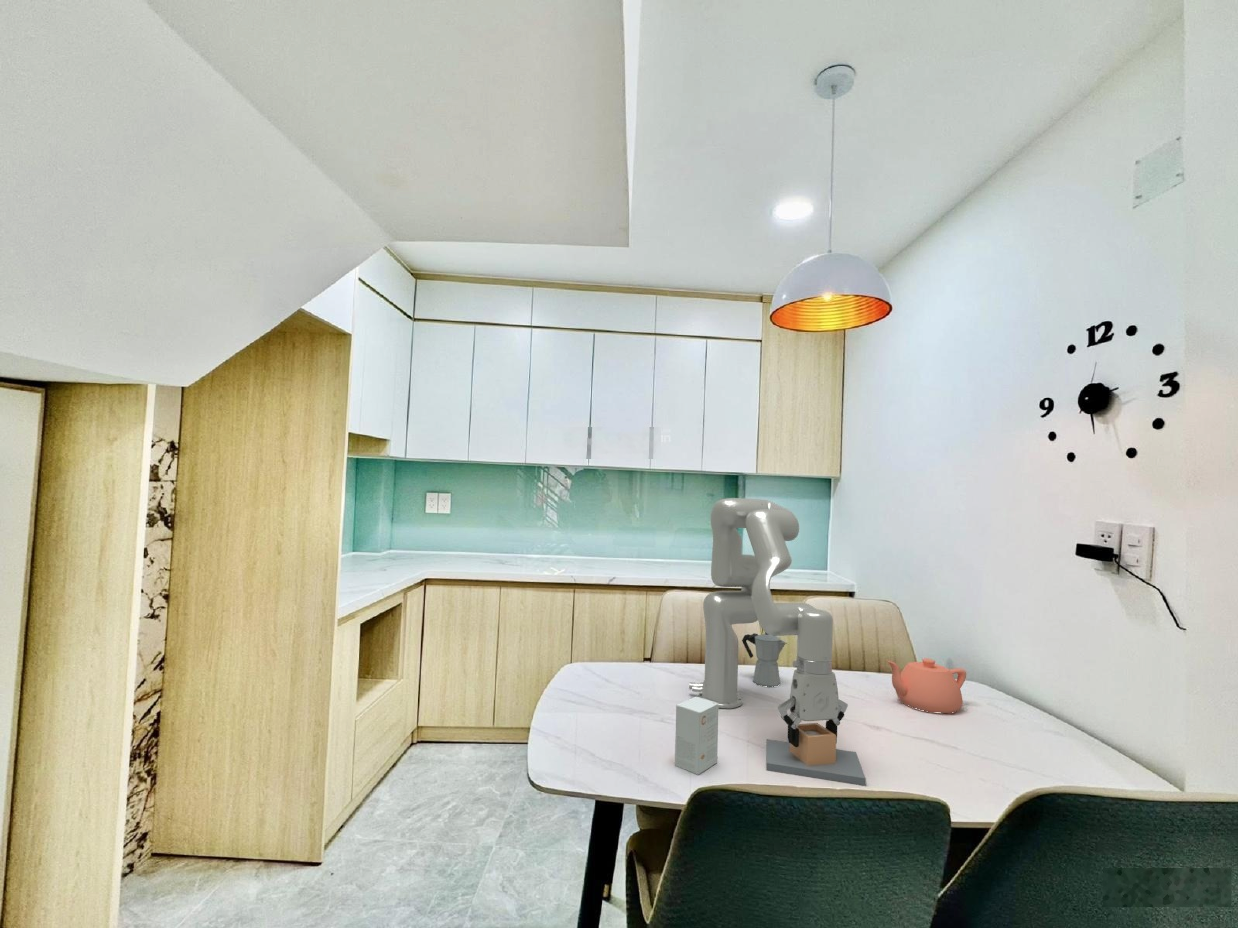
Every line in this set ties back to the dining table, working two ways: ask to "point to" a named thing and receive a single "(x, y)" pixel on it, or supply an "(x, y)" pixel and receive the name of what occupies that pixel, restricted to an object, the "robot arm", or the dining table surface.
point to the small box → (696, 734)
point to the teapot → (929, 686)
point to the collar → (815, 745)
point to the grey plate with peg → (840, 771)
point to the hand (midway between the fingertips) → (812, 743)
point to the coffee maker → (765, 658)
